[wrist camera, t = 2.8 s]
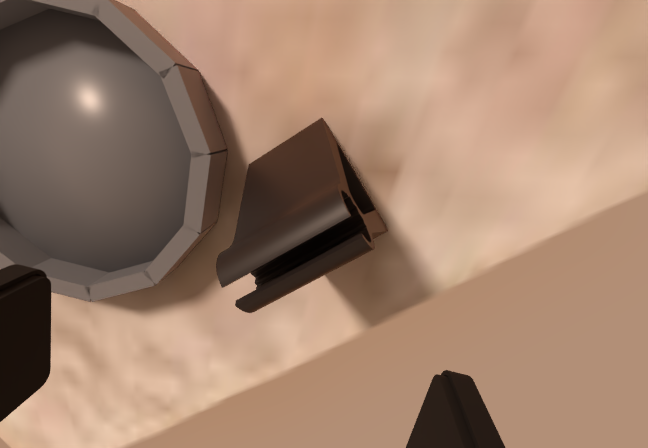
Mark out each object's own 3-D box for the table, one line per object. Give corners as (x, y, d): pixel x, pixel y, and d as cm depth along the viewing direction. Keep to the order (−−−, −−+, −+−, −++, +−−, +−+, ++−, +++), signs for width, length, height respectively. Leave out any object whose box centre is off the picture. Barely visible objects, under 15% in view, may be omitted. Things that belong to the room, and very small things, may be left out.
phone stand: (387, 229, 25) (414, 321, 14) (316, 266, 27) (287, 379, 15) (323, 117, 23) (292, 117, 12) (250, 163, 25) (160, 202, 13)
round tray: (244, 35, 22) (227, 23, 20) (205, 305, 28) (188, 326, 26) (-57, -38, 23) (-117, -60, 20) (-33, 245, 29) (-76, 259, 26)
